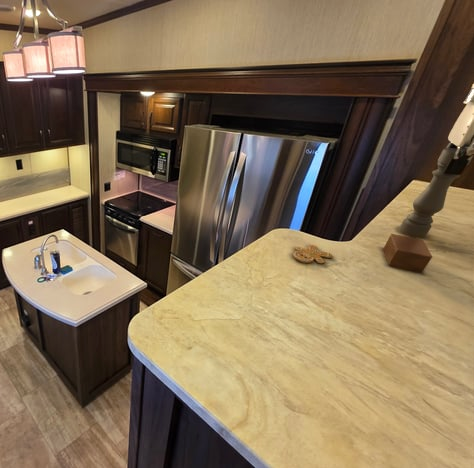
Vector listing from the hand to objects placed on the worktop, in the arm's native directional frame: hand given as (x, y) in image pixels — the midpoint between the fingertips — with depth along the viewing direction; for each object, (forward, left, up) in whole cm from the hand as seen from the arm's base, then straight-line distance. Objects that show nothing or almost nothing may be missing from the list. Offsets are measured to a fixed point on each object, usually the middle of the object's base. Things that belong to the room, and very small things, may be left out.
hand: (448, 169), depth 78 cm
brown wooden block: (+5, +19, -20) cm, 28 cm away
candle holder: (0, 0, -20) cm, 20 cm away
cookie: (+26, +28, -20) cm, 43 cm away
